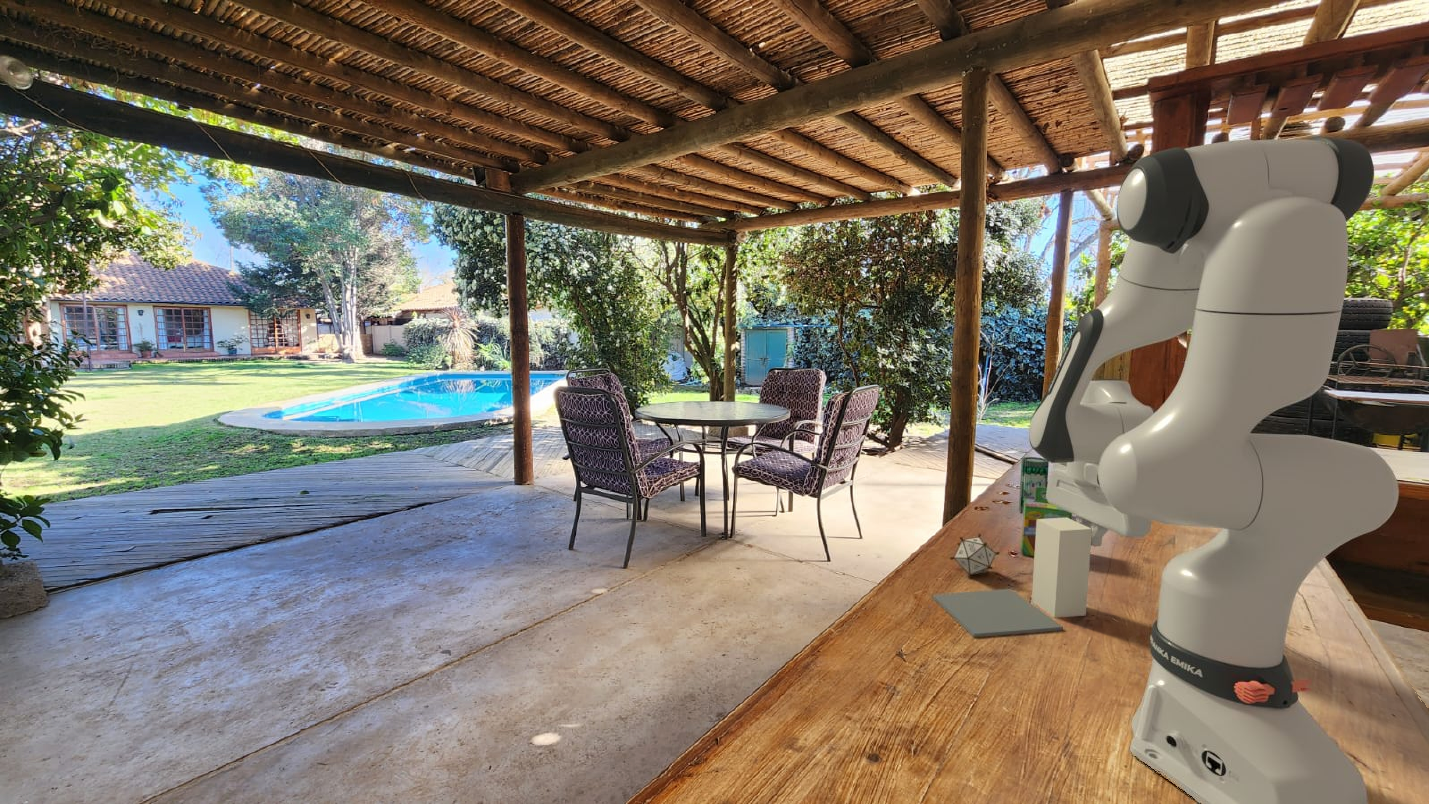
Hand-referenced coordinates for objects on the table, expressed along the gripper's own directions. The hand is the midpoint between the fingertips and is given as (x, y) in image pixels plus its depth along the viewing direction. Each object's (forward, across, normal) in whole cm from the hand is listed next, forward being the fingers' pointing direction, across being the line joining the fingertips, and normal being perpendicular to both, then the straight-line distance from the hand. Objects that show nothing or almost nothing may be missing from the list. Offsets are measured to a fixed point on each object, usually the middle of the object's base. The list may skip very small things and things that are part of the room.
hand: (1090, 543), depth 101 cm
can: (+12, -49, +24) cm, 56 cm away
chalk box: (+12, -24, +10) cm, 29 cm away
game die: (+12, -16, -12) cm, 23 cm away
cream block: (+12, 0, -5) cm, 13 cm away
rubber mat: (+12, 0, -18) cm, 22 cm away
